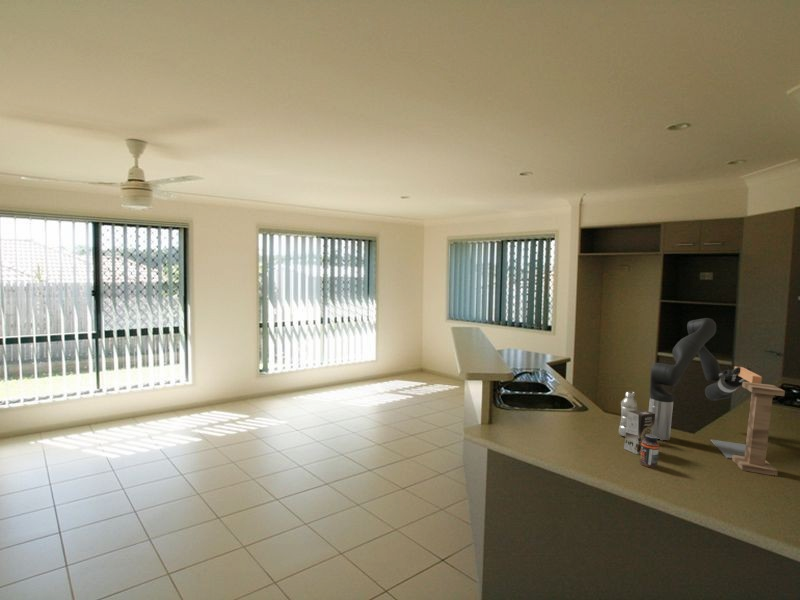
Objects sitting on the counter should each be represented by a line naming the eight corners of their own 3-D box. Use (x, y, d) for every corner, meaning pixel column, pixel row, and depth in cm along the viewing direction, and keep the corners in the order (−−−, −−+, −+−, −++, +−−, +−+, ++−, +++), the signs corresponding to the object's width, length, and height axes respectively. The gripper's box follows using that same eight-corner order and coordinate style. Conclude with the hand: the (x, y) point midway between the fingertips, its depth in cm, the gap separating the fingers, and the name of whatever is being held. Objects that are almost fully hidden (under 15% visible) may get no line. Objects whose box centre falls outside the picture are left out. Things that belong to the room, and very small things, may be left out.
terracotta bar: (761, 384, 182) (761, 376, 182) (752, 383, 183) (752, 376, 183) (742, 374, 201) (742, 367, 201) (733, 373, 202) (734, 366, 202)
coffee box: (637, 455, 185) (641, 415, 184) (623, 449, 191) (627, 410, 190) (652, 452, 189) (656, 413, 188) (637, 446, 195) (641, 408, 194)
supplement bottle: (636, 461, 178) (638, 432, 177) (650, 461, 179) (653, 433, 178) (645, 468, 172) (648, 438, 171) (660, 468, 173) (663, 438, 172)
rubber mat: (768, 465, 183) (768, 463, 182) (727, 458, 187) (727, 457, 187) (747, 445, 203) (747, 444, 203) (710, 440, 208) (710, 439, 208)
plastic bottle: (636, 440, 202) (640, 395, 201) (620, 438, 204) (624, 393, 202) (632, 435, 209) (636, 391, 207) (616, 433, 210) (620, 389, 209)
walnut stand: (777, 476, 172) (787, 391, 170) (742, 470, 176) (751, 387, 174) (764, 464, 183) (773, 384, 180) (732, 459, 186) (740, 381, 184)
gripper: (711, 372, 214) (724, 359, 199) (747, 376, 209) (763, 363, 194) (712, 388, 211) (725, 376, 196) (749, 392, 206) (765, 380, 191)
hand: (744, 369), depth 195 cm, fingers closed on terracotta bar, 3 cm apart
